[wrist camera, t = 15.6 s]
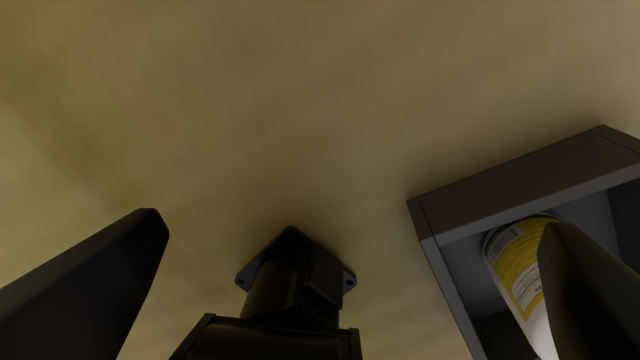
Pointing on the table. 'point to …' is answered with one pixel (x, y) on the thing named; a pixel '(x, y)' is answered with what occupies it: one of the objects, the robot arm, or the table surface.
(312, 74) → the table surface
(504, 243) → the supplement bottle
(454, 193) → the bin
